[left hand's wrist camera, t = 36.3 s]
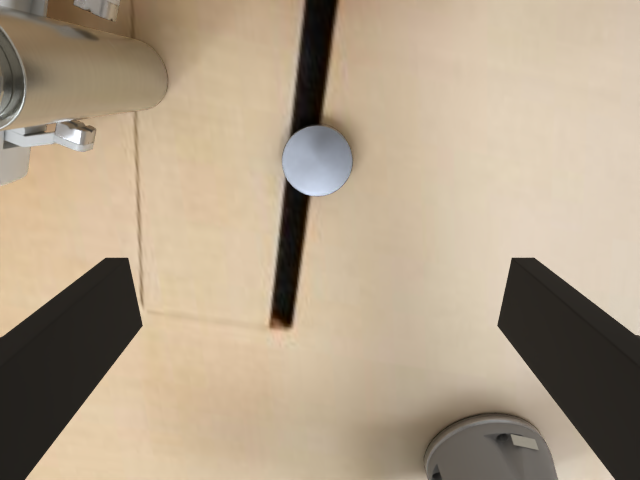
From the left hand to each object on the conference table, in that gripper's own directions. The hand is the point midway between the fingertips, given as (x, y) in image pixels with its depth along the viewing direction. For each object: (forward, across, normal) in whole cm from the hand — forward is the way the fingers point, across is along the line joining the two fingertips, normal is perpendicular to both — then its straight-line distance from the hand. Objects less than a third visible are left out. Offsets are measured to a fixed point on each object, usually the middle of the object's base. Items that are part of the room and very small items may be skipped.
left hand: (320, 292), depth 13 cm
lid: (+20, 0, -1) cm, 20 cm away
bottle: (+21, +15, -8) cm, 27 cm away
